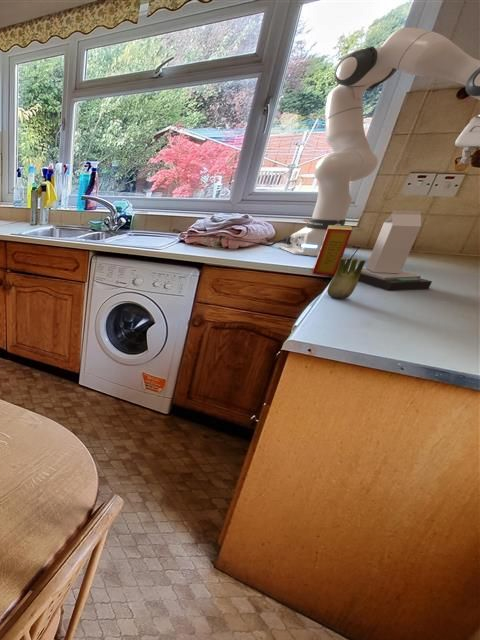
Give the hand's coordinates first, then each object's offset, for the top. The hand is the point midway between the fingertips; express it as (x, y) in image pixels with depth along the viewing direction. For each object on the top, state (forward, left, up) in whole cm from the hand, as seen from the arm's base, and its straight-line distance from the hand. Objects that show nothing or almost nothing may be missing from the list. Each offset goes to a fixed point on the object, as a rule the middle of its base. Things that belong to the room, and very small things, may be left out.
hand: (479, 164), depth 134 cm
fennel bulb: (+19, -47, -35) cm, 62 cm away
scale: (+6, -20, -35) cm, 41 cm away
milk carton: (+3, -20, -32) cm, 37 cm away
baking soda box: (-11, -28, -35) cm, 46 cm away
